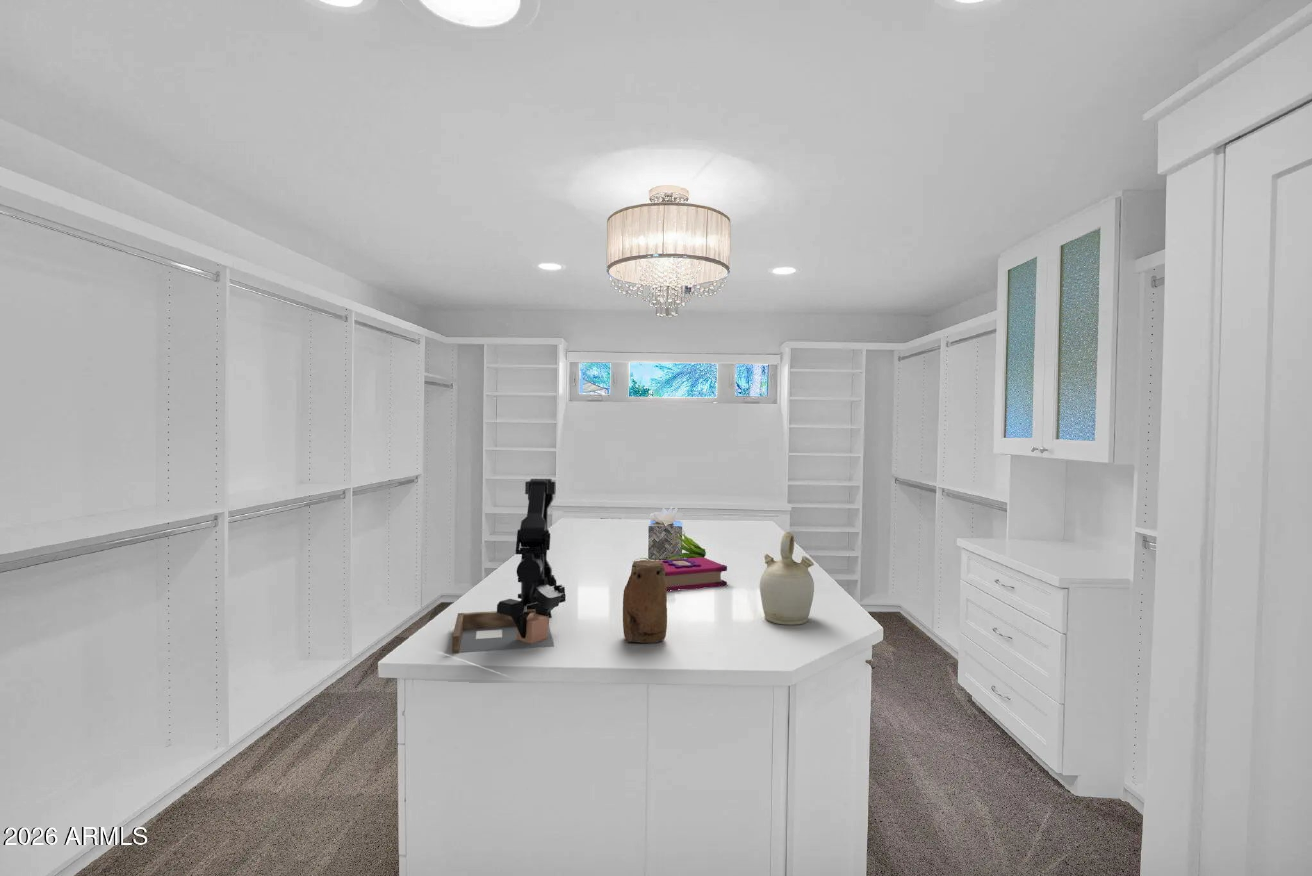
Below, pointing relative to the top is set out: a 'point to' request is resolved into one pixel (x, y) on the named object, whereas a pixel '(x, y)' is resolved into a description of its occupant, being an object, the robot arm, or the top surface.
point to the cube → (535, 628)
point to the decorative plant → (688, 549)
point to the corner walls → (480, 623)
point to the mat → (497, 640)
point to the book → (693, 573)
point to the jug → (787, 586)
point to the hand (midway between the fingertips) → (532, 635)
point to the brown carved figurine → (645, 603)
